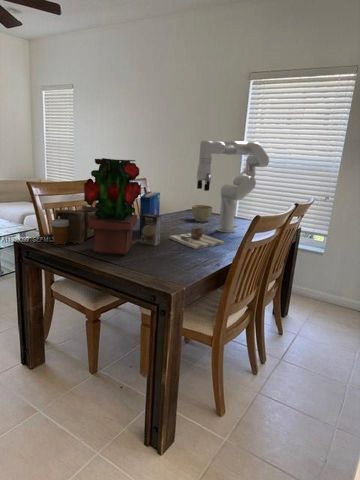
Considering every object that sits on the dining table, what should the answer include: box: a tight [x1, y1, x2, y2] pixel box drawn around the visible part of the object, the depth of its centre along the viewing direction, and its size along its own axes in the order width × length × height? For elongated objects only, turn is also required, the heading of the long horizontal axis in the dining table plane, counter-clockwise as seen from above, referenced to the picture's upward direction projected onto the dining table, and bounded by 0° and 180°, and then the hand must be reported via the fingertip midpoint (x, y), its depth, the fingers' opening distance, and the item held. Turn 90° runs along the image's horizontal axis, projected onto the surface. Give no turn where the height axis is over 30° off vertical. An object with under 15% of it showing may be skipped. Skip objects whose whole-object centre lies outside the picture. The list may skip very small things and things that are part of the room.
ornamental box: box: [54, 205, 99, 245], centre depth 190 cm, size 35×18×18 cm, turn 162°
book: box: [139, 191, 161, 236], centre depth 203 cm, size 22×7×25 cm, turn 168°
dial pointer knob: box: [181, 226, 203, 239], centre depth 192 cm, size 12×5×6 cm, turn 109°
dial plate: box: [168, 232, 225, 250], centre depth 194 cm, size 22×24×2 cm
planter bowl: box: [191, 204, 214, 223], centre depth 254 cm, size 16×16×11 cm
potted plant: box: [83, 157, 142, 257], centre depth 159 cm, size 22×22×45 cm
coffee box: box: [140, 214, 162, 247], centre depth 182 cm, size 9×6×16 cm
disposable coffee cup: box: [50, 218, 70, 245], centre depth 172 cm, size 10×10×12 cm
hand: (202, 189), depth 207 cm, fingers open, 9 cm apart
